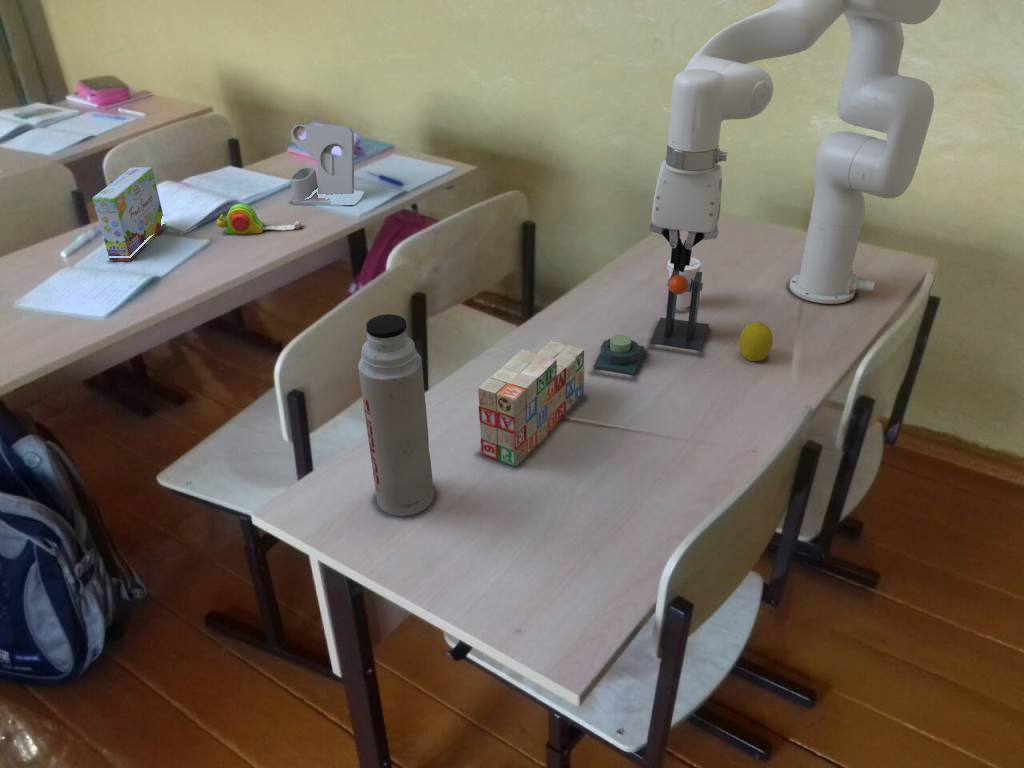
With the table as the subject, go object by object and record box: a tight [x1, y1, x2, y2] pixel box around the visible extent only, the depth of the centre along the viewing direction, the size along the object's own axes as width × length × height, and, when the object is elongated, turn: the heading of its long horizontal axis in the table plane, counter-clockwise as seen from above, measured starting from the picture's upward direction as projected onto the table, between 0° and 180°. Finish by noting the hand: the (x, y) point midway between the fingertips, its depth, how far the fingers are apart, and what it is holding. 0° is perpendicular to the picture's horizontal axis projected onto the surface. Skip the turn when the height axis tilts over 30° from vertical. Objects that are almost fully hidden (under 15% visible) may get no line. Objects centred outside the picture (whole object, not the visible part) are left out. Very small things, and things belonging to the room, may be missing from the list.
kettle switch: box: [668, 275, 693, 295], centre depth 141 cm, size 13×3×3 cm, turn 160°
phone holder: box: [289, 124, 355, 207], centre depth 212 cm, size 17×10×18 cm, turn 81°
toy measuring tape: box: [216, 203, 302, 235], centre depth 197 cm, size 6×19×7 cm, turn 96°
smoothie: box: [666, 256, 702, 309], centre depth 158 cm, size 6×6×14 cm
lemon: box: [738, 320, 774, 362], centre depth 142 cm, size 6×6×8 cm
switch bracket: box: [649, 269, 709, 352], centre depth 148 cm, size 10×9×13 cm
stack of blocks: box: [477, 340, 585, 468], centre depth 126 cm, size 21×6×12 cm, turn 148°
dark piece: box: [593, 337, 646, 376], centre depth 144 cm, size 9×7×4 cm
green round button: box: [609, 334, 632, 353], centre depth 143 cm, size 4×4×2 cm
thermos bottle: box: [357, 313, 435, 517], centre depth 108 cm, size 8×8×28 cm
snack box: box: [91, 166, 167, 262], centre depth 190 cm, size 21×6×15 cm, turn 179°
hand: (679, 268), depth 135 cm, fingers closed
